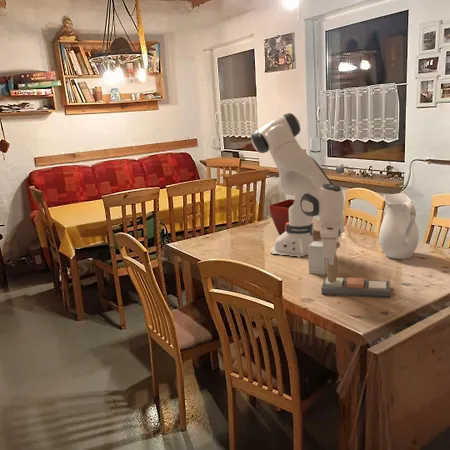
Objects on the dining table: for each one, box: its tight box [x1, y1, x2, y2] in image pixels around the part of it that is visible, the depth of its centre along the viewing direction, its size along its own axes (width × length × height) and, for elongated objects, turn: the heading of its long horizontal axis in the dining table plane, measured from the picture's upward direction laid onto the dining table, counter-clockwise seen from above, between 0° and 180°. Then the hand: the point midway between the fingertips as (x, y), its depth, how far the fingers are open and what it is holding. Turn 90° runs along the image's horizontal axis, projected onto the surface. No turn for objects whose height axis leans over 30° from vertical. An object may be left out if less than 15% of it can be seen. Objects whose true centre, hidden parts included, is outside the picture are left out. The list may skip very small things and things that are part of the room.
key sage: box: [325, 277, 344, 287], centre depth 180 cm, size 6×6×2 cm
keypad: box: [320, 277, 391, 299], centre depth 178 cm, size 25×10×3 cm, turn 72°
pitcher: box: [378, 192, 420, 260], centre depth 206 cm, size 24×17×28 cm
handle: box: [326, 242, 341, 282], centre depth 178 cm, size 5×6×15 cm
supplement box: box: [307, 240, 327, 276], centre depth 200 cm, size 7×7×13 cm
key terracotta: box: [346, 277, 365, 288], centre depth 177 cm, size 6×6×2 cm
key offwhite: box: [368, 280, 387, 289], centre depth 175 cm, size 6×6×2 cm
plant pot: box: [268, 198, 314, 234], centre depth 262 cm, size 19×19×17 cm
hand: (332, 262), depth 178 cm, fingers closed on handle, 4 cm apart
